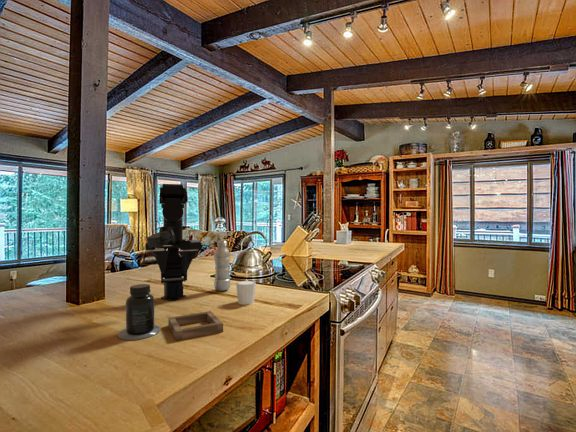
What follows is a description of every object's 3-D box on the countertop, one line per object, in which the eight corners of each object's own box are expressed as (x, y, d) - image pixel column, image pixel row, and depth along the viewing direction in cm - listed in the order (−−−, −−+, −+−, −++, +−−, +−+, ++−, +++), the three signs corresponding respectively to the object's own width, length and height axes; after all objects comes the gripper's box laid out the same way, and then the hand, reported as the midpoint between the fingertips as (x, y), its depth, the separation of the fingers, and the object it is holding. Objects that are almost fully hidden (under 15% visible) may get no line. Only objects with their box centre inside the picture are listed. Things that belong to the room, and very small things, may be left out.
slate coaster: (109, 335, 82) (109, 334, 82) (143, 323, 90) (143, 322, 90) (135, 343, 77) (135, 341, 77) (167, 329, 86) (167, 328, 86)
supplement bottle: (129, 327, 86) (129, 283, 86) (156, 325, 88) (156, 282, 88) (122, 336, 80) (122, 289, 80) (151, 334, 81) (151, 288, 81)
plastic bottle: (233, 289, 129) (233, 240, 129) (222, 293, 123) (222, 242, 123) (222, 287, 132) (222, 240, 132) (210, 291, 127) (210, 241, 126)
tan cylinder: (252, 305, 107) (252, 285, 107) (233, 304, 109) (233, 284, 109) (258, 300, 114) (258, 280, 114) (240, 299, 116) (240, 280, 115)
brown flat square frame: (168, 325, 89) (168, 317, 89) (210, 318, 95) (210, 311, 95) (176, 340, 78) (176, 332, 78) (223, 331, 84) (223, 323, 84)
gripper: (130, 224, 96) (130, 275, 96) (175, 221, 88) (175, 277, 87) (159, 224, 106) (159, 271, 106) (202, 222, 98) (203, 272, 97)
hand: (173, 273), depth 99 cm, fingers open, 9 cm apart
